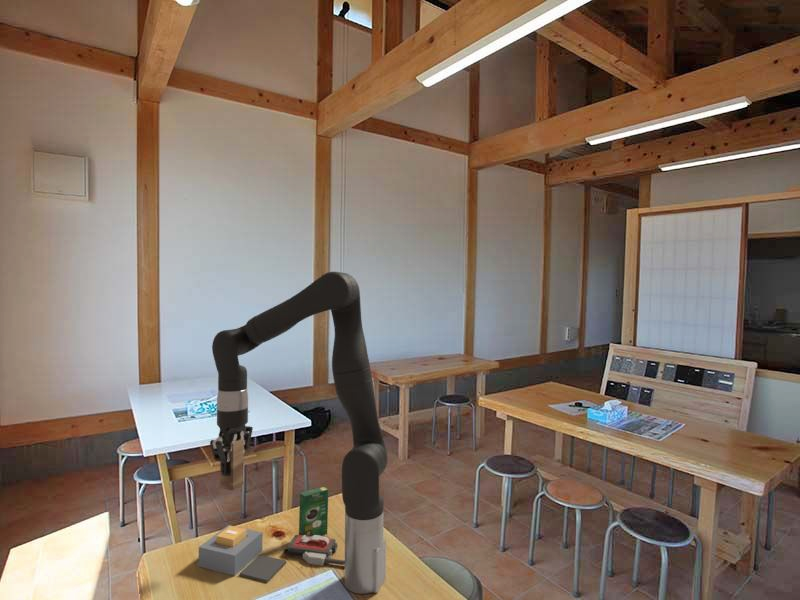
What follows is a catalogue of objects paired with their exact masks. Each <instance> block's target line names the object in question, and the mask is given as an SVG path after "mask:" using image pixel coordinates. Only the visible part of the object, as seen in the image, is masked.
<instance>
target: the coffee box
mask: <svg viewBox="0 0 800 600" xmlns="http://www.w3.org/2000/svg"><path fill="white" fill-rule="evenodd" d="M328 515H329V488H327V487H326V486H319V487H317V488H313V489H309V490H306V491H303V492H300V493H299V520H298V521H299V523H298V535H306V536H313V535H320V536H325V535H326V534H328V521H329V519H328V517H329V516H328Z"/></svg>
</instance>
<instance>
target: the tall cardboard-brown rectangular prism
mask: <svg viewBox="0 0 800 600" xmlns="http://www.w3.org/2000/svg"><path fill="white" fill-rule="evenodd" d="M244 442H245V440H244V439H241V440H240V439H238V440H236V441H235V443H233V447H232V448H233V451H232V452H231V459H230V461H231V469H230V475H229V476H223V475H222V474H221V462H220V461H219V463H220V465H219V467H220V470H219V471H220V472H219V473H220V474H219V476H220V477H219V479H220V482H219V485H220V486H219V488H220V489H223V490H228V491H235V490H237V489H238V488H239V487H241V486H242V485H244V470H245V468H244V463H245V462H244V456H245V455H244V454H245V452H244ZM223 447H224V448H227V449H229V448H230V447H226V446H224V445H223ZM225 456H227V452H225Z"/></svg>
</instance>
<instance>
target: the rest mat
mask: <svg viewBox="0 0 800 600" xmlns="http://www.w3.org/2000/svg"><path fill="white" fill-rule="evenodd" d="M286 564H287V560H285V559H280V558H276V557H272V556H269V555H264V554H263V555H262V554H258V555H257V556H256V557H255V558H254V559H253V560H252V561H251V562H250V563H248V564H247V565H246V566H245V567H244V568H243V569H242V570H241V571H240V572H239V576H240V577H243V578H248V579H252V580H256V581H260V582H263V583H269V582H270V581H271V580H272V579H273V578H274V577H275V576H276V575H277V573H278V572H279V571H280V570H281V569H282V568H283V567H284V566H285V565H286Z"/></svg>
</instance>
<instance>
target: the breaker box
mask: <svg viewBox="0 0 800 600" xmlns="http://www.w3.org/2000/svg"><path fill="white" fill-rule="evenodd" d="M229 526H232V525H231V524H230V525H229V524H228V525H227V526H225V527H224V528H222V529H221V530H219V532H217V533H216V534H215V535H213V536H211V537H210V538H209V539H207V540H206V541H205V542H203V543H202V544H201V545H199V546H198V568H202V569H206V570H211V571H215V572H219V573H223V574H226V575H229V576H234V577H235V576H237V575H238V574H240V572H241V571H243V570H244V569H245V568H246V567H247V566H248V565H249V564H250V563H251V562H252V561H253V560H254V559H256V558H257V557H258V556H259V555H260V554H261V553H262V552H263V534H264V533H263V531H258V530H255V529H250V528H249V529H248V528H245V527H244V528H243V527H242V528H243V529H247V530H246V538H245V539H243V540H242V541H241V542H240V543H239V544H237V545H236V546H235V547H234V548H232V547H228V546H224V545H220V544H216V536H217V535H218V534H220V533H221V532H222V531H224V530H225V529H226V528H228V527H229ZM233 526H234V525H233ZM234 527H238V528H241V527H240V526H234Z"/></svg>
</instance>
